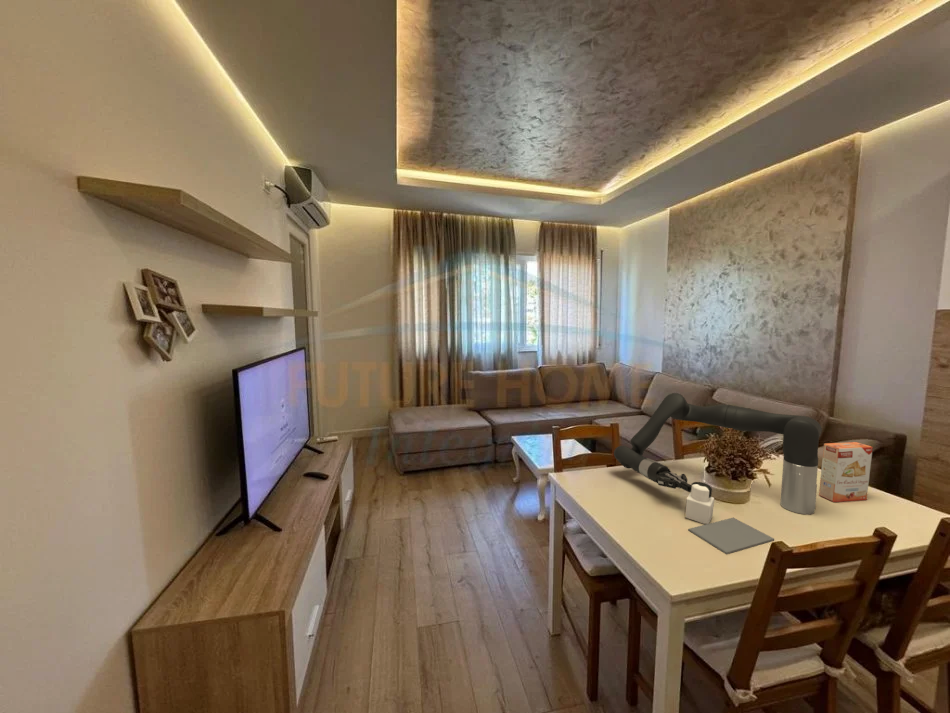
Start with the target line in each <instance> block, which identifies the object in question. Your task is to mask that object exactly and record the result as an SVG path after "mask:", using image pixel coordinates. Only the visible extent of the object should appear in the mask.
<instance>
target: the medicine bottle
mask: <svg viewBox="0 0 950 713" xmlns="http://www.w3.org/2000/svg"><path fill="white" fill-rule="evenodd" d="M690 485H691V492H689V494H688V496H687V497H686V499H685V510H684V517H685V518H686V519H689V520H692V521H694V522H697V523H701V524H702V525H706V524H710V523H711V520H712V518H713V515H714V506H715V497H713V496H712V495H713V494H712V492H713V487H712V486H710V485H709V484H707V483H705V482H702V481H694V482H692V483H691V484H690Z"/></svg>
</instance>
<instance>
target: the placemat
mask: <svg viewBox="0 0 950 713" xmlns="http://www.w3.org/2000/svg"><path fill="white" fill-rule="evenodd" d="M688 532H689V533H692V534H693V535H695V536H696V537H697V538H700V539H701V540H702V541H704V542H706V543H707V544H709V545H711V546H713V547H714V548H715V549H717V550H719V551H720V552H722V553H724V554H725V555H730V554H733V553H737V552H740V551H742V550H743V551H744V550H747V549H750V548H752V547H753V548H754V547H757V546H759V545H763V544H767V543H771V542H773V541H775V538H774V537H772V536H771V535H768V534H766V533H764V532H763V531H760V530H758V529H757V528H754V527H753V526H751V525H749V524H747V523H745V522H743V521H741V520H739V519H737V518H735V517H730V518H726V519H722V520H718V521H714V522H710V523H709V524H702V525H699V526H693V527H690V528H688ZM772 540H773V541H772ZM769 541H770V542H769Z"/></svg>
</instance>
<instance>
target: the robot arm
mask: <svg viewBox="0 0 950 713" xmlns="http://www.w3.org/2000/svg"><path fill="white" fill-rule="evenodd" d="M660 402H661V403H660V404H659V405H658V407H657V408H656V410H655V411H654V412H653V414H652V415H651V416H650V418H649V419H648V421H647V422H646V423H645V424H644V425H643V426H642V427H641V428H640V429H639V430H638V431H637V433H635V435H633V437H632V438H630V441H629V442H630V444H631V447H628V446H625V445H619V446H617V447H616V448H615V449H614V450H613V456H614V458H615V459H616V460H617V462H618V463H620V464H621V466H623V468H625V469H632V470H633V471H634V472H636V473H638V474H640V475H642V476H643V477H645V478H647V479H648V480H650V481H652V482H654V483H655V484H657V485H658V486H660V487H665V488H670V489H673V490H675V489H682V490H684V491H686V492H687V493H690V492H691V484H690V483H688V478H687V475H686V474H685V473H681V474H677V473H675V472H672V471H671V469H670V468H669V467H668V466H667V465H664V464H662V463H660V462H658V461H656V460H653V459H651V458H648V457H646V456H643V454H644V452H645V451H646V450H647V449H648V447H650V446H651V445H652V443H654V441H655V440H656V439H657V437H658V436H659V433H661V430H662V429H663V428H662V427H663V426H664V425H665V423H666V422H667V421H668V420H669V419H670V418H672V419H674V420H677V421H688V422H696V423H702V424H706V425H712V426H717V427H719V428H720V427H722V428H725V429H729V428H733V429H732V430H736V431H742V432H766V433H767V432H768V433H774V434H779V435H782V436H783V438H782V439H783V440H782V453H783V454H782V455H783V459H782V460H783V463H782V473H781V474H782V476H781V491H780V506H781V507H783V509H785V510H788V511H790V512H791V513H792V512H793V513H796V514H801V515H813V514H814V513H815V510H816V507H817V506H816V505H817V491H818V484H817V482H818V468H819V454H818V453H819V442H820V437H821V434H822V431H823V428H822V425H821V424H820V422H818V421H817V420H816V419H814V418H812V417H810V416H806V415H797V414H796V415H795V414H793V415H792V414H784V413H773V412H768V411H763V410H760V409H759V410H758V409H753V408H748V407H743V406H736V405H730V404H717V405H710V406H701V405H694V404H690V403H688V401H687V400H686V398H685V397H684V396H683V395H682V394H681V393H677V392H674V393H668V395H666V396H665V397H664V398H663V400H662V401H660Z"/></svg>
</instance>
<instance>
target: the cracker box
mask: <svg viewBox="0 0 950 713" xmlns="http://www.w3.org/2000/svg"><path fill="white" fill-rule="evenodd" d="M873 448H874V447H873V446H871V445H867V444H864V443H861V442H856V441H853V442H852V441H851V442H829V443H823V449H822V450H823V451H822V462H821V470H820V478H819V479H820V482H819V492H818V496H820V497H822V498H824V499H826V500H828V501H830V502H833V503H837V502H838V503H839V502H841V503H842V502H855V501H867V498H868V492H869V482H870V474H871V473H870V472H871V466H872V457H873Z"/></svg>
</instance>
